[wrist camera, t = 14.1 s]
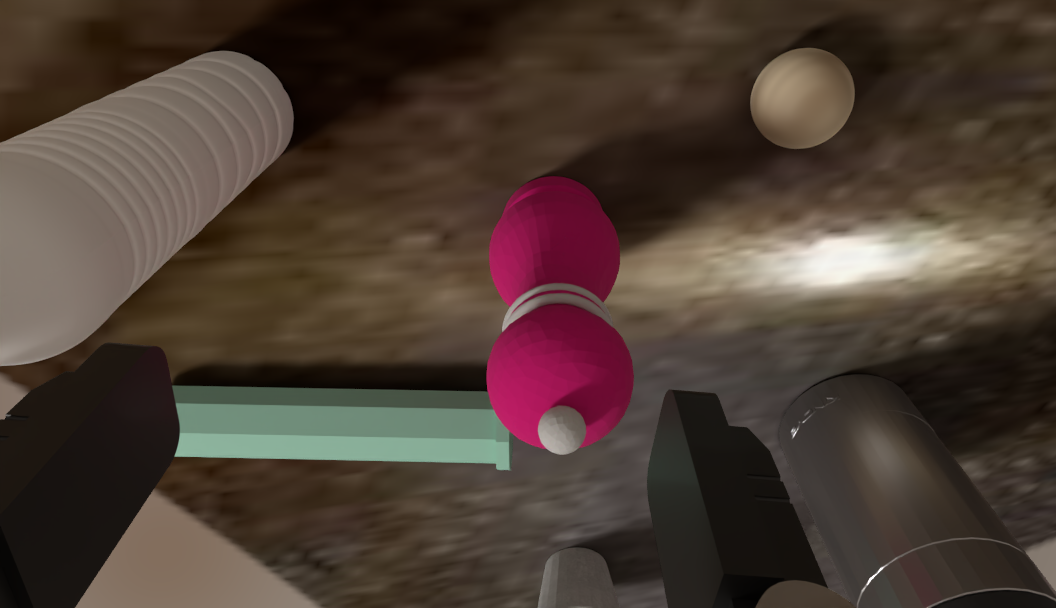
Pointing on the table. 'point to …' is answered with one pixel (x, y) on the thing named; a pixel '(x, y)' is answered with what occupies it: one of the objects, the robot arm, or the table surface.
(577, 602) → the house plant
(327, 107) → the table surface
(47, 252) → the water bottle
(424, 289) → the table surface
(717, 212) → the table surface
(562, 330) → the pepper mill
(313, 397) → the mint green faceted rod
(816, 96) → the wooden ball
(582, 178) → the table surface
